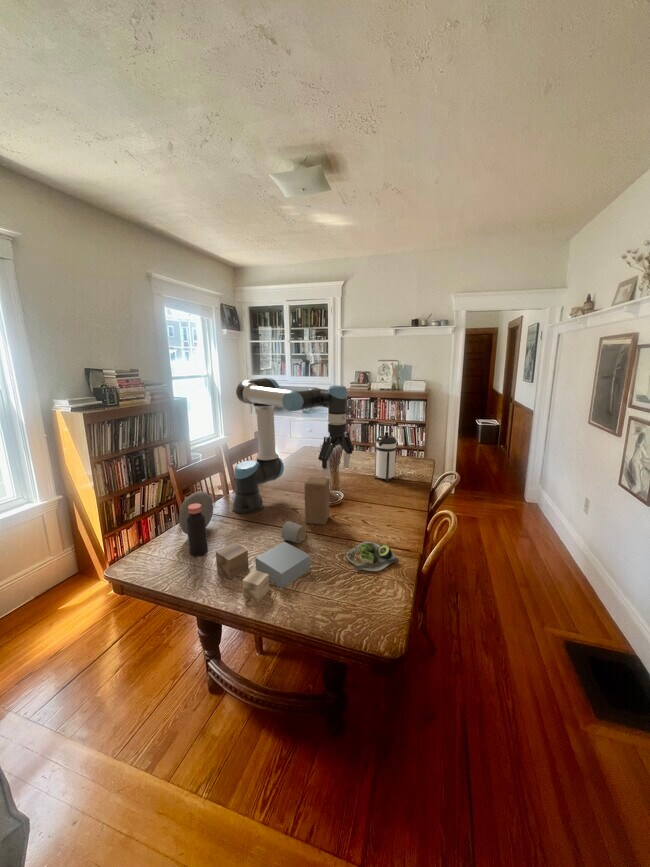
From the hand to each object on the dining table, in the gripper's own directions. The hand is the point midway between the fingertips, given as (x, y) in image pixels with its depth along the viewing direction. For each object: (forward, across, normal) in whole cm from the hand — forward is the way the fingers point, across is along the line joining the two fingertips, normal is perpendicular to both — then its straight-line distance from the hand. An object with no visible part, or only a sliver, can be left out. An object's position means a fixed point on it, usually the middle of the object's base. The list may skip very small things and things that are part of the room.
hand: (336, 471), depth 147 cm
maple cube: (+28, -49, -8) cm, 57 cm away
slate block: (+28, -35, -5) cm, 45 cm away
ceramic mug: (+28, -18, +8) cm, 34 cm away
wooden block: (+28, +1, +13) cm, 31 cm away
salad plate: (+28, -7, -25) cm, 38 cm away
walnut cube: (+28, -48, +8) cm, 56 cm away
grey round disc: (+28, -43, +43) cm, 67 cm away
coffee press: (+28, +71, +20) cm, 79 cm away
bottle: (+28, -51, +28) cm, 64 cm away
